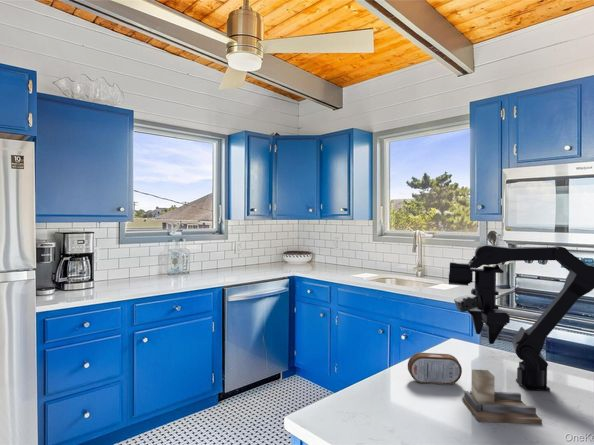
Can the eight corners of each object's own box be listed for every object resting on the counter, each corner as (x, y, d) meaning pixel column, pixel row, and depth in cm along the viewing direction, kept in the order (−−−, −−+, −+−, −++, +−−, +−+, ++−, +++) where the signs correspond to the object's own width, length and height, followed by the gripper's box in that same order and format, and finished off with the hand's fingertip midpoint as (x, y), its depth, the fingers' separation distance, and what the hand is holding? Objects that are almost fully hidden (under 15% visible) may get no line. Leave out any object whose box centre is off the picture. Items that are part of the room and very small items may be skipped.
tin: (459, 381, 113) (459, 353, 113) (462, 386, 110) (463, 357, 110) (407, 379, 115) (407, 351, 115) (409, 383, 112) (409, 355, 112)
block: (487, 400, 99) (488, 370, 99) (494, 408, 96) (494, 376, 95) (471, 400, 100) (471, 369, 100) (477, 407, 96) (477, 375, 96)
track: (518, 402, 101) (519, 392, 101) (541, 423, 91) (542, 413, 90) (462, 400, 102) (462, 390, 102) (478, 421, 91) (478, 410, 91)
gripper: (447, 281, 125) (446, 328, 125) (469, 292, 106) (468, 348, 107) (482, 281, 124) (481, 329, 125) (511, 293, 106) (510, 349, 106)
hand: (484, 338), depth 115 cm, fingers open, 9 cm apart
